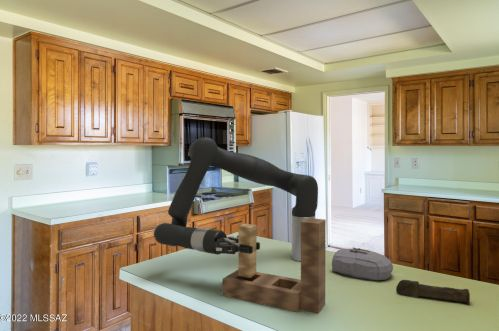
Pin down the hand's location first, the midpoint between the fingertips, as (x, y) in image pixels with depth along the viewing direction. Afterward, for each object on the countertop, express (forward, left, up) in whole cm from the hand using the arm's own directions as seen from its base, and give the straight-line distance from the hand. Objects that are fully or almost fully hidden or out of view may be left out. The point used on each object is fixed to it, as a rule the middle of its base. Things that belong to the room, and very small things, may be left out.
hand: (255, 248), depth 107 cm
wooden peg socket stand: (-4, +4, -14) cm, 15 cm away
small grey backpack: (-41, -7, -15) cm, 44 cm away
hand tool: (-48, +18, -15) cm, 53 cm away
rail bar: (+2, -2, -8) cm, 9 cm away
